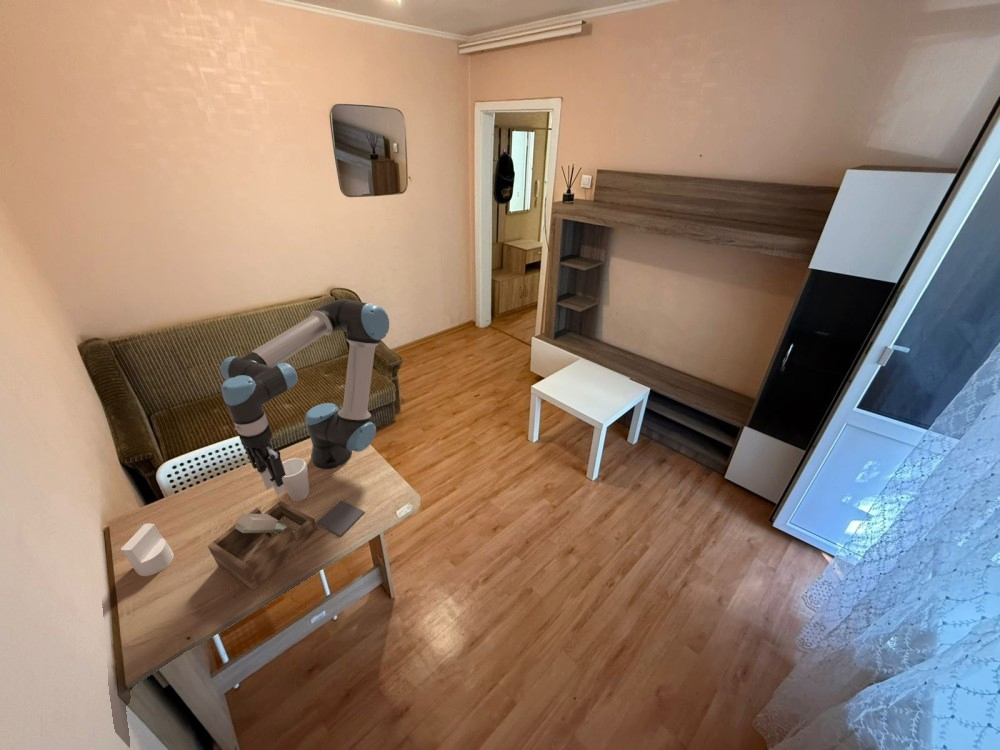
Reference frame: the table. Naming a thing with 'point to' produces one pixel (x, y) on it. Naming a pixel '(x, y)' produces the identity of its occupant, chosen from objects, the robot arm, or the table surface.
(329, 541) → the table surface
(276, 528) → the bar
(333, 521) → the mat
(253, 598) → the table surface
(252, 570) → the wooden box
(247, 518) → the part
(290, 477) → the foam cup
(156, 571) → the base with upright slab
